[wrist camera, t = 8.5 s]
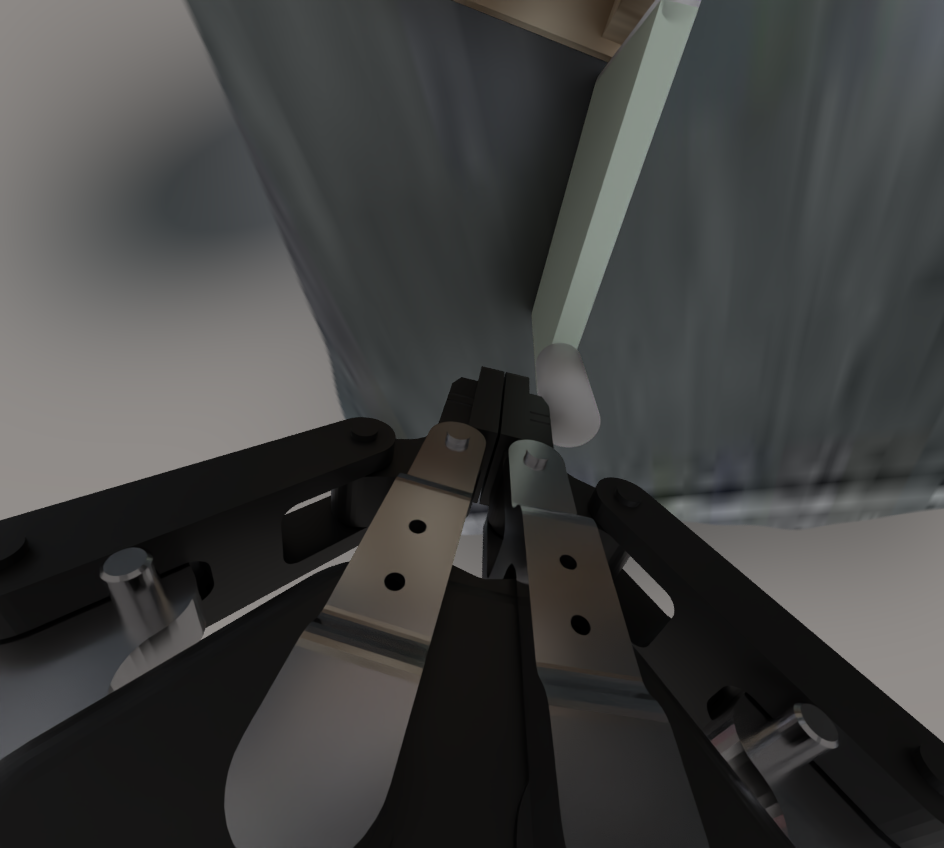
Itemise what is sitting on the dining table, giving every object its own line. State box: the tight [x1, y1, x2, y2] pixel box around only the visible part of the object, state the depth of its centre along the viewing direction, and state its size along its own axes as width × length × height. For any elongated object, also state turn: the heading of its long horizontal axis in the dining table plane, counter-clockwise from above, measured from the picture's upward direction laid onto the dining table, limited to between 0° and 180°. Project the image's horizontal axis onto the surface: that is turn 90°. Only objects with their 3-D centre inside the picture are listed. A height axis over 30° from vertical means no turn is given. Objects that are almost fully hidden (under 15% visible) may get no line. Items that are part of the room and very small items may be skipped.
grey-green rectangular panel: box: [532, 0, 701, 447], centre depth 16 cm, size 12×2×16 cm, turn 169°
